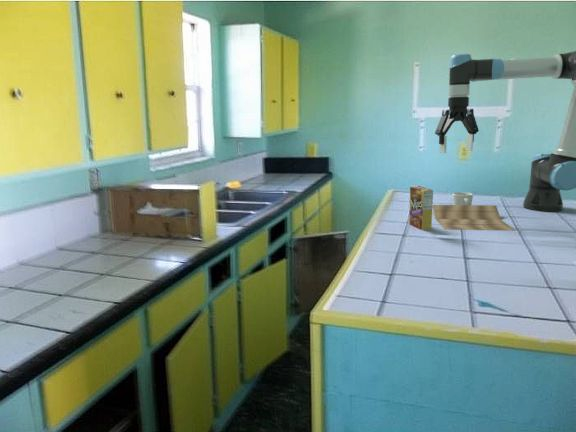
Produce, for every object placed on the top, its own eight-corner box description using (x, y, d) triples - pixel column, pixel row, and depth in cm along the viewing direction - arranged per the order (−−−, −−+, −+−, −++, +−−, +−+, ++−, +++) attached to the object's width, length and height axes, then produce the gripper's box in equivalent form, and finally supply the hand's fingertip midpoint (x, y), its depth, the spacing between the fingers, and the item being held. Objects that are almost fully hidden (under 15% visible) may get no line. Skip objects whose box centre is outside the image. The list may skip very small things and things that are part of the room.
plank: (495, 207, 195) (496, 205, 194) (500, 222, 189) (500, 219, 189) (432, 207, 198) (432, 204, 197) (435, 221, 192) (435, 218, 191)
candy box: (407, 227, 183) (409, 186, 180) (418, 226, 184) (420, 185, 181) (420, 233, 175) (423, 190, 171) (431, 232, 176) (434, 189, 173)
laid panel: (500, 222, 189) (501, 219, 188) (515, 233, 173) (515, 230, 173) (435, 222, 191) (435, 218, 191) (444, 232, 175) (444, 229, 175)
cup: (476, 216, 200) (478, 196, 198) (456, 216, 200) (458, 196, 198) (467, 210, 210) (469, 191, 208) (448, 210, 210) (450, 192, 208)
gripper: (475, 96, 202) (472, 149, 206) (426, 97, 191) (424, 153, 196) (490, 95, 195) (486, 150, 200) (440, 96, 185) (438, 154, 189)
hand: (456, 151), depth 198 cm, fingers open, 13 cm apart
